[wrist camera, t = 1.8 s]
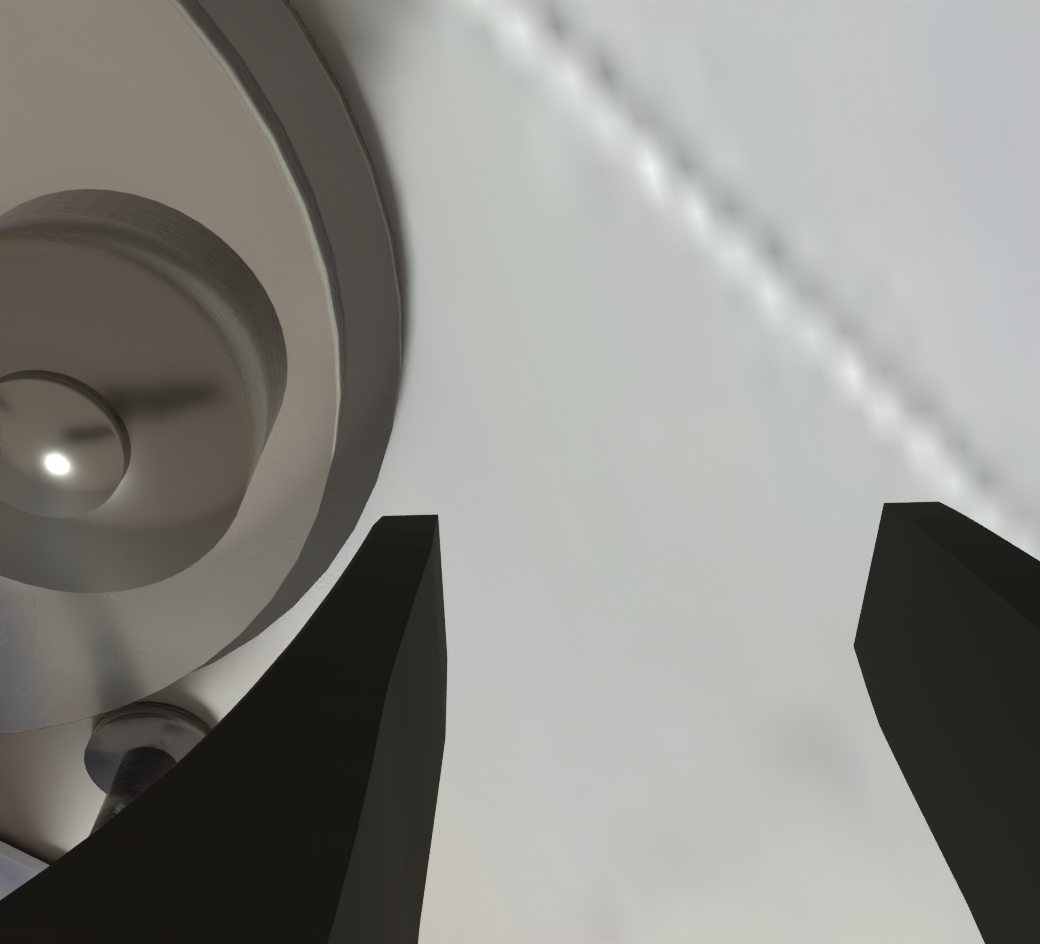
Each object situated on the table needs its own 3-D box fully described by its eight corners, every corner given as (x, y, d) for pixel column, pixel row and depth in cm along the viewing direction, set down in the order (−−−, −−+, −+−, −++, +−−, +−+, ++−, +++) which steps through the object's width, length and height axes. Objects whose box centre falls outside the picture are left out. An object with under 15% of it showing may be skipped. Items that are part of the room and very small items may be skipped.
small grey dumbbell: (173, 808, 26) (107, 1001, 21) (68, 751, 25) (-27, 942, 20) (245, 745, 25) (191, 934, 20) (138, 682, 24) (55, 867, 19)
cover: (168, 539, 19) (105, 665, 16) (-107, 356, 17) (-242, 459, 14) (352, 346, 17) (322, 446, 14) (67, 111, 15) (-45, 166, 12)
